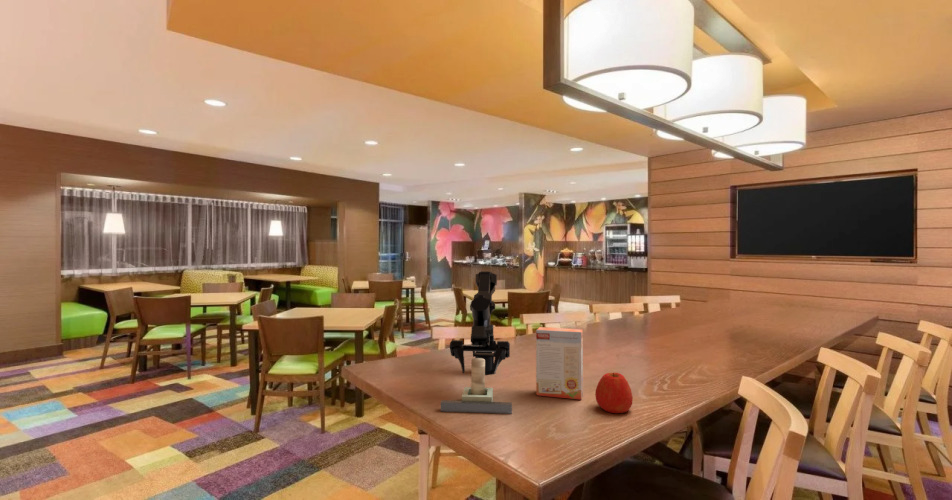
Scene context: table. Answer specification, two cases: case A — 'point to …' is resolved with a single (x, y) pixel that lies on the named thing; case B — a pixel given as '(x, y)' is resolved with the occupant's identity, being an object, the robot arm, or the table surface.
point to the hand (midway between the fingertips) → (478, 373)
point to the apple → (614, 393)
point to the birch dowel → (478, 376)
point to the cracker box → (559, 362)
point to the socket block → (485, 398)
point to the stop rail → (476, 407)
